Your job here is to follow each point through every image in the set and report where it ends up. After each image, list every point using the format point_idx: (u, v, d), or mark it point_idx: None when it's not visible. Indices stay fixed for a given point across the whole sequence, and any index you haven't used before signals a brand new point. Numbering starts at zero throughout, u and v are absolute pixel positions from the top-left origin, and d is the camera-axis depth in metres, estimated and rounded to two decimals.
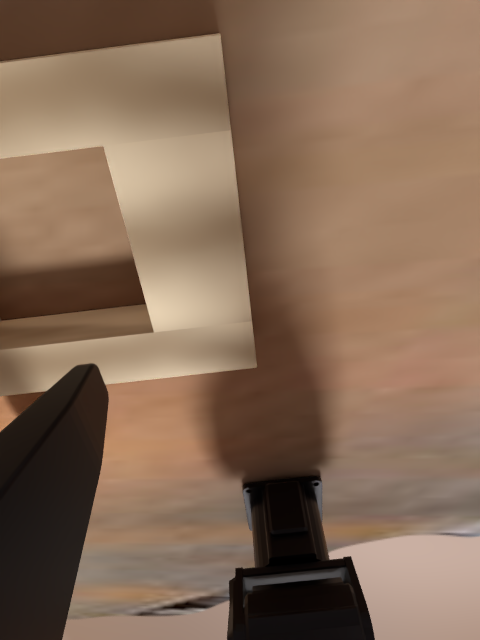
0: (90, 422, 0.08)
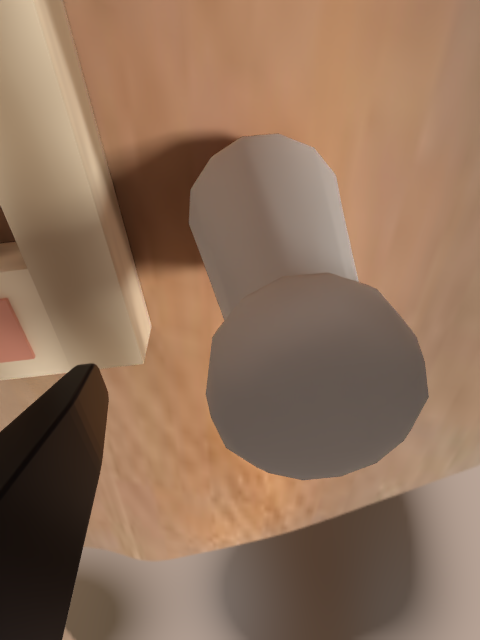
0: (90, 422, 0.08)
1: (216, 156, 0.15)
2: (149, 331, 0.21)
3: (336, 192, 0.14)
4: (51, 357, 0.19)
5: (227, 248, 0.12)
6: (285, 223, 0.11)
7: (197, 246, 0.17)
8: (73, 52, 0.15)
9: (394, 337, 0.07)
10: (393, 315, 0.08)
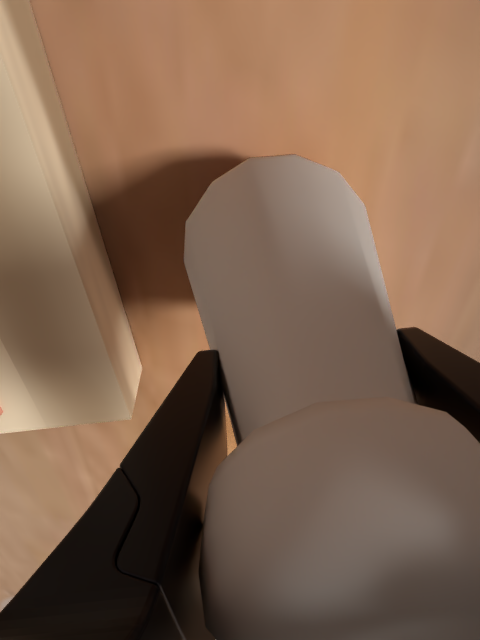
0: (221, 408, 0.08)
1: (217, 183, 0.12)
2: (139, 375, 0.18)
3: (369, 231, 0.11)
4: (22, 412, 0.16)
5: (231, 318, 0.09)
6: (310, 290, 0.08)
7: None
8: (40, 52, 0.12)
9: None
10: None
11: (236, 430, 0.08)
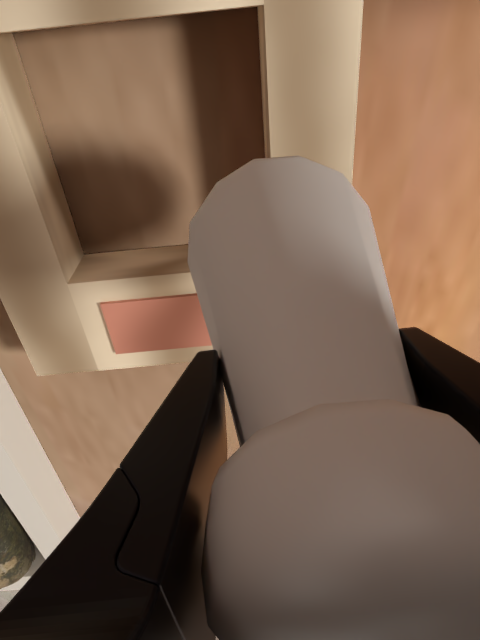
0: (221, 408, 0.08)
1: (221, 184, 0.12)
2: None
3: (372, 233, 0.11)
4: None
5: (234, 319, 0.09)
6: (314, 292, 0.08)
7: None
8: None
9: None
10: None
11: (239, 431, 0.08)
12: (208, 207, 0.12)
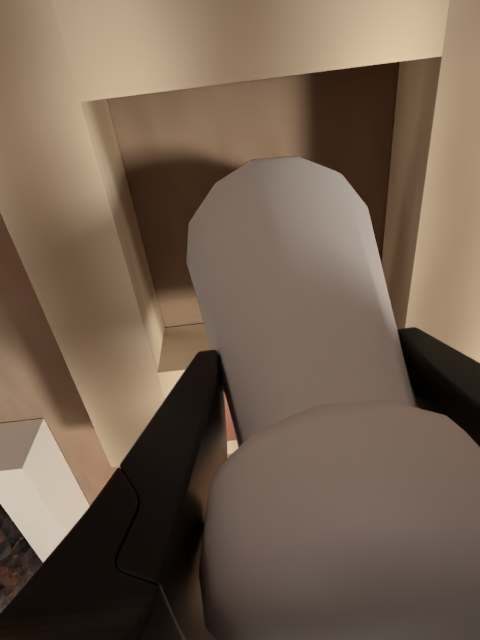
0: (221, 408, 0.08)
1: (220, 184, 0.12)
2: None
3: (371, 233, 0.11)
4: None
5: (233, 320, 0.09)
6: (312, 292, 0.08)
7: None
8: None
9: None
10: None
11: (237, 431, 0.08)
12: (207, 207, 0.12)
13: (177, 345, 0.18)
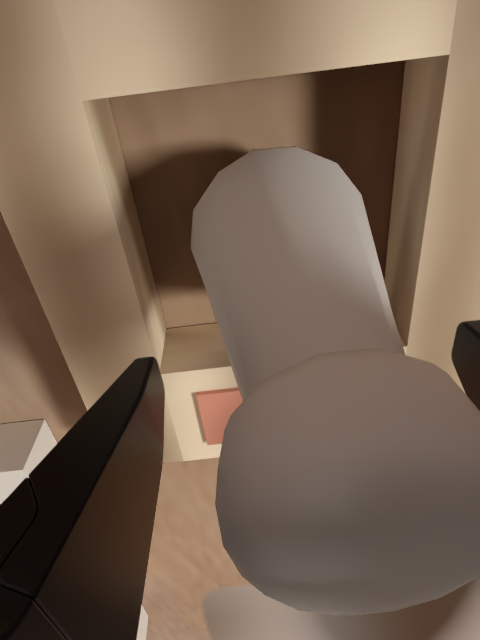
0: (154, 415, 0.08)
1: (223, 172, 0.13)
2: None
3: (365, 217, 0.12)
4: None
5: (239, 292, 0.09)
6: (312, 265, 0.09)
7: None
8: None
9: None
10: (477, 419, 0.06)
11: (245, 391, 0.08)
12: (211, 194, 0.13)
13: (179, 346, 0.18)
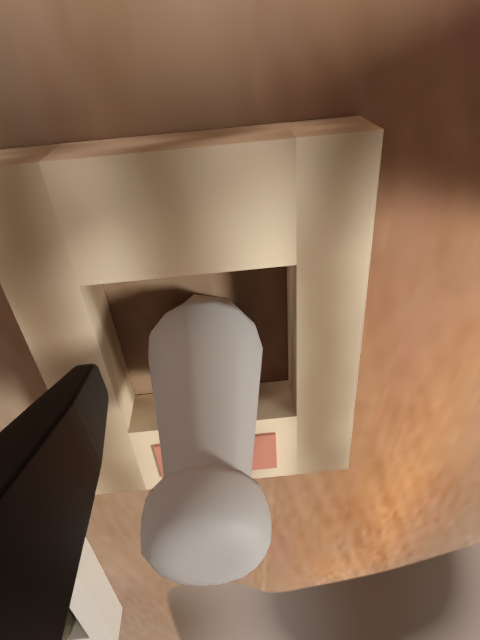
0: (90, 422, 0.08)
1: (167, 318, 0.21)
2: None
3: (251, 352, 0.20)
4: (286, 465, 0.27)
5: (165, 413, 0.17)
6: (202, 403, 0.17)
7: None
8: None
9: (241, 519, 0.13)
10: (245, 501, 0.13)
11: None
12: (159, 332, 0.20)
13: (143, 410, 0.26)
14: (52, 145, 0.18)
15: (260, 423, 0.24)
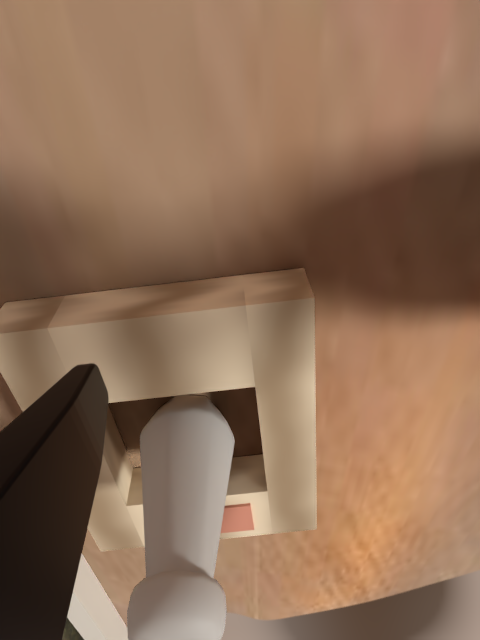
0: (90, 422, 0.08)
1: (154, 423, 0.25)
2: None
3: (221, 453, 0.24)
4: (263, 527, 0.31)
5: (149, 514, 0.22)
6: (177, 510, 0.21)
7: None
8: None
9: (198, 618, 0.17)
10: (203, 602, 0.18)
11: None
12: (147, 435, 0.25)
13: (139, 484, 0.30)
14: (58, 298, 0.23)
15: (237, 497, 0.29)
